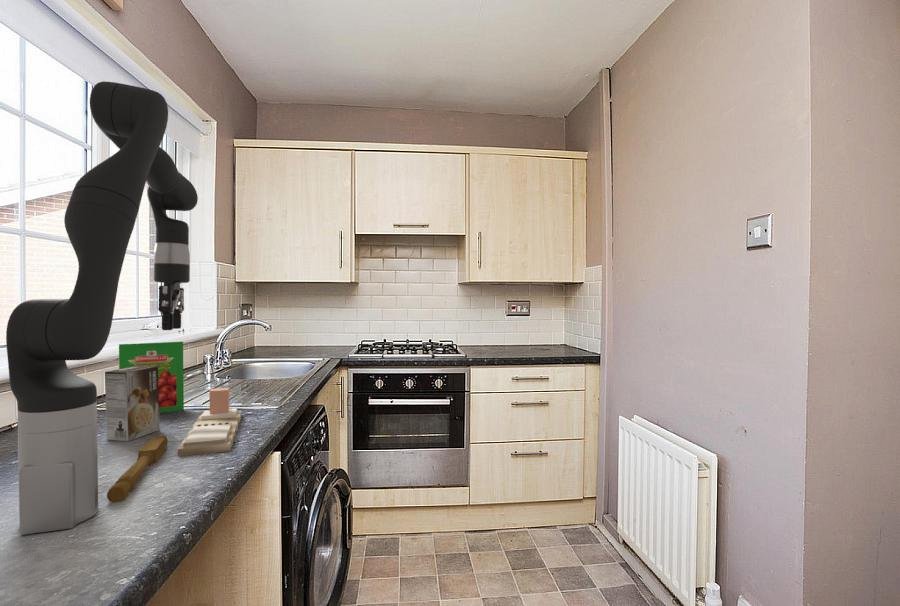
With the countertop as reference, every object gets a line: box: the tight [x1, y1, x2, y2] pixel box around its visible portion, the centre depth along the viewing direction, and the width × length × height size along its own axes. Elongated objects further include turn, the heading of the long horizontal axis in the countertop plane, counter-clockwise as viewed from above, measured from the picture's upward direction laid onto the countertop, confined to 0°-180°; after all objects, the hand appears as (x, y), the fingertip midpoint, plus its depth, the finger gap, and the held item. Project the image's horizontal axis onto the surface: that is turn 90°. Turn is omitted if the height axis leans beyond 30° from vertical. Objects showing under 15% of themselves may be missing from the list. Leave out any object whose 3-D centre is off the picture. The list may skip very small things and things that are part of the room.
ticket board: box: [177, 410, 243, 457], centre depth 115 cm, size 30×10×3 cm, turn 20°
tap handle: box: [106, 435, 169, 503], centre depth 91 cm, size 3×3×30 cm
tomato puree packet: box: [118, 341, 185, 414], centre depth 133 cm, size 15×1×20 cm, turn 120°
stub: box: [200, 387, 238, 420], centre depth 125 cm, size 6×8×7 cm
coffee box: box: [104, 366, 161, 442], centre depth 113 cm, size 9×6×16 cm
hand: (171, 329), depth 115 cm, fingers open, 8 cm apart
